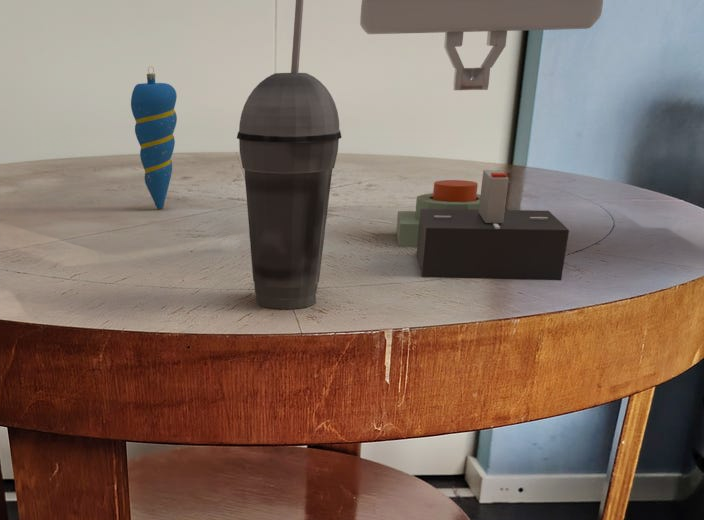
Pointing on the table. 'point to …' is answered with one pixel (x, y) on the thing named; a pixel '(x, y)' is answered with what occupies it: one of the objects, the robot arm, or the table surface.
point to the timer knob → (493, 196)
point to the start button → (455, 191)
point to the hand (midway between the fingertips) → (470, 90)
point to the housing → (410, 219)
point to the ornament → (155, 133)
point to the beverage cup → (288, 180)
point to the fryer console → (491, 245)
